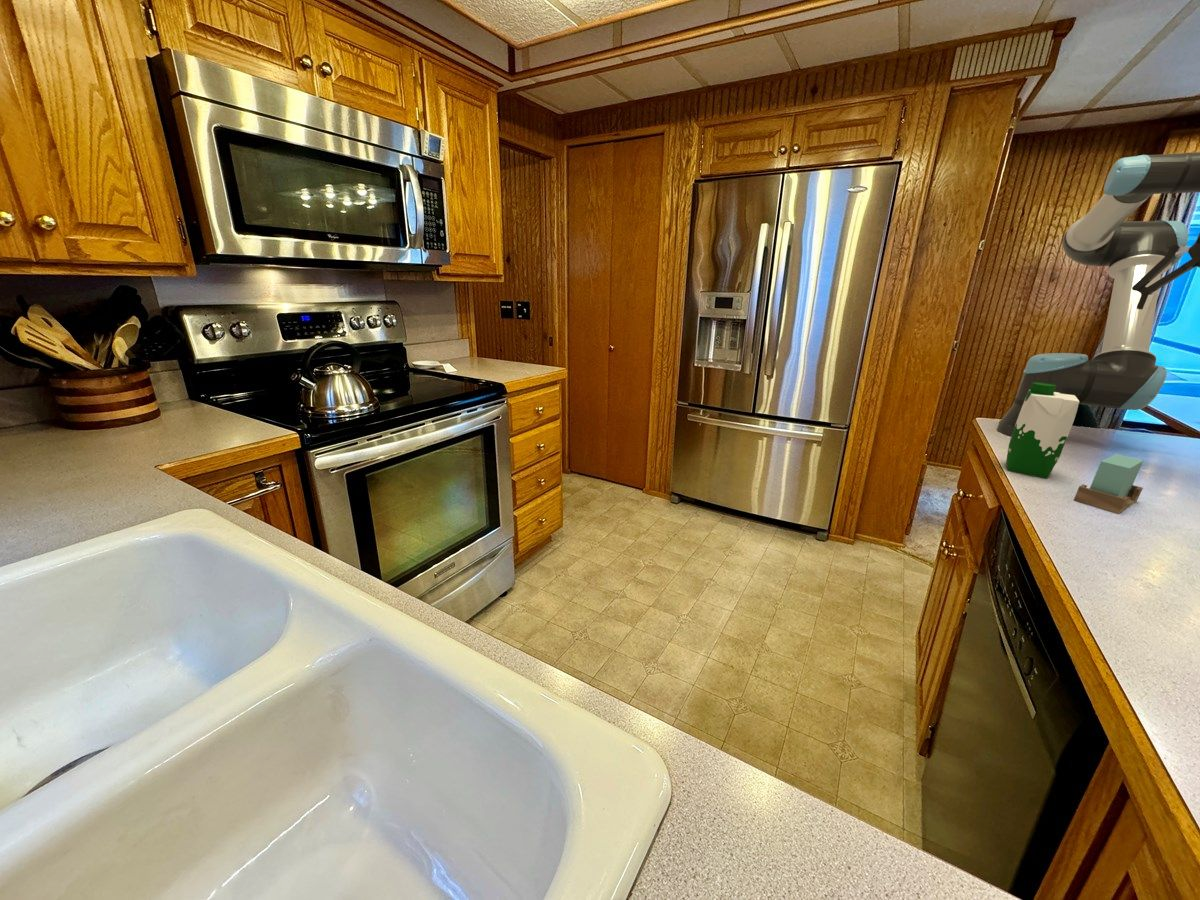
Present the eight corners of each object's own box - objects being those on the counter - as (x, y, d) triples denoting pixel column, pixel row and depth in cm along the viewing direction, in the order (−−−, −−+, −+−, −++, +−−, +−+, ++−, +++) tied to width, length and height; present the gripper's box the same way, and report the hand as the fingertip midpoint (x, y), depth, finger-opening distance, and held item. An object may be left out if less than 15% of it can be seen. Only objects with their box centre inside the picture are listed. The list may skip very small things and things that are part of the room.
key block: (1100, 489, 100) (1115, 454, 98) (1127, 497, 97) (1143, 460, 94) (1085, 498, 96) (1101, 461, 93) (1112, 506, 93) (1129, 468, 90)
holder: (1093, 488, 102) (1098, 476, 101) (1136, 501, 97) (1143, 487, 96) (1073, 500, 96) (1079, 486, 95) (1118, 513, 91) (1125, 499, 90)
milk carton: (1001, 460, 117) (1029, 379, 110) (1050, 469, 112) (1082, 385, 105) (1002, 470, 111) (1031, 385, 104) (1054, 481, 106) (1088, 392, 99)
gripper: (1139, 220, 102) (1100, 323, 109) (1346, 209, 82) (1281, 336, 89) (1149, 223, 105) (1110, 322, 113) (1349, 213, 86) (1286, 335, 93)
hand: (1185, 329), depth 101 cm, fingers open, 13 cm apart
